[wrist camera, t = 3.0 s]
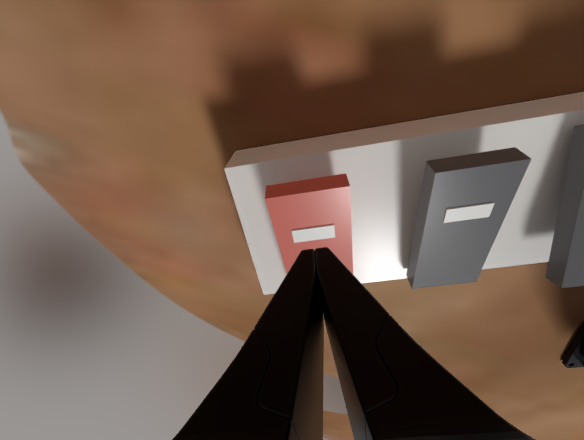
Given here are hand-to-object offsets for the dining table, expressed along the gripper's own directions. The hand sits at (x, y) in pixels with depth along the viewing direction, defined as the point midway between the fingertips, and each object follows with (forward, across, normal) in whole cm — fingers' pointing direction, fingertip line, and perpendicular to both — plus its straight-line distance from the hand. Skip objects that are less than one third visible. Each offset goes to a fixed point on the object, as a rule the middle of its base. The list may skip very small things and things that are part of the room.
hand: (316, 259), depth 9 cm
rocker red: (+5, 0, +3) cm, 6 cm away
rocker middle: (+5, -7, +3) cm, 9 cm away
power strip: (+9, -10, +3) cm, 14 cm away
